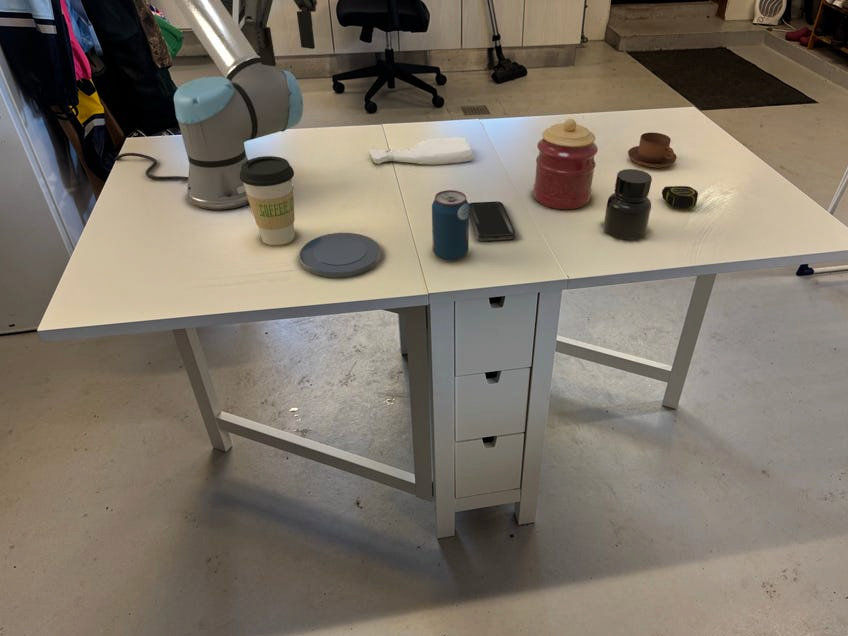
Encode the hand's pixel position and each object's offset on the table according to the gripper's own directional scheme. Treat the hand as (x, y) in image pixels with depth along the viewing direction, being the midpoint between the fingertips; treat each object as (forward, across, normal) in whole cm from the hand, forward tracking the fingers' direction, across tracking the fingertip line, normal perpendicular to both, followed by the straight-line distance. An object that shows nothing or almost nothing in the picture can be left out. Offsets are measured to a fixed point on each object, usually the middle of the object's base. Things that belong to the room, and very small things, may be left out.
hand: (289, 56), depth 128 cm
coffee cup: (+29, -20, -5) cm, 35 cm away
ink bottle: (+29, +12, -69) cm, 75 cm away
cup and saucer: (+29, +51, -68) cm, 90 cm away
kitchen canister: (+29, +21, -52) cm, 64 cm away
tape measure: (+29, +29, -77) cm, 87 cm away
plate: (+29, -21, -20) cm, 41 cm away
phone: (+29, +3, -42) cm, 51 cm away
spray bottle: (+29, +29, -14) cm, 43 cm away
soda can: (+29, -12, -39) cm, 50 cm away
